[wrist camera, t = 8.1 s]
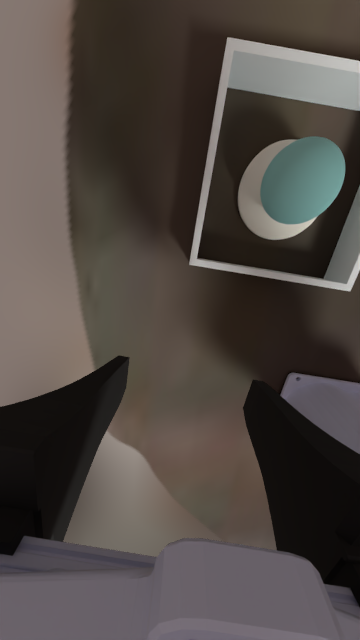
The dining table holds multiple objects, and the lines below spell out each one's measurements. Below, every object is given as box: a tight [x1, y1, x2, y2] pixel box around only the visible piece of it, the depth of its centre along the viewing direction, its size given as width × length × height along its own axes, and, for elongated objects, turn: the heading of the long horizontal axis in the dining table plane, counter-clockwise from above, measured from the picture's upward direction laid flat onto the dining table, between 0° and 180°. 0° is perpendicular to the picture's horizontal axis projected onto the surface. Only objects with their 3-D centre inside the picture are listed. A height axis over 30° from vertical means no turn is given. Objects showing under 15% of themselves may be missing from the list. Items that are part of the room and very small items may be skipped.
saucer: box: [237, 139, 317, 240], centre depth 17 cm, size 7×7×1 cm
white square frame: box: [189, 37, 360, 291], centre depth 16 cm, size 13×13×3 cm
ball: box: [260, 137, 345, 224], centre depth 14 cm, size 5×5×5 cm
